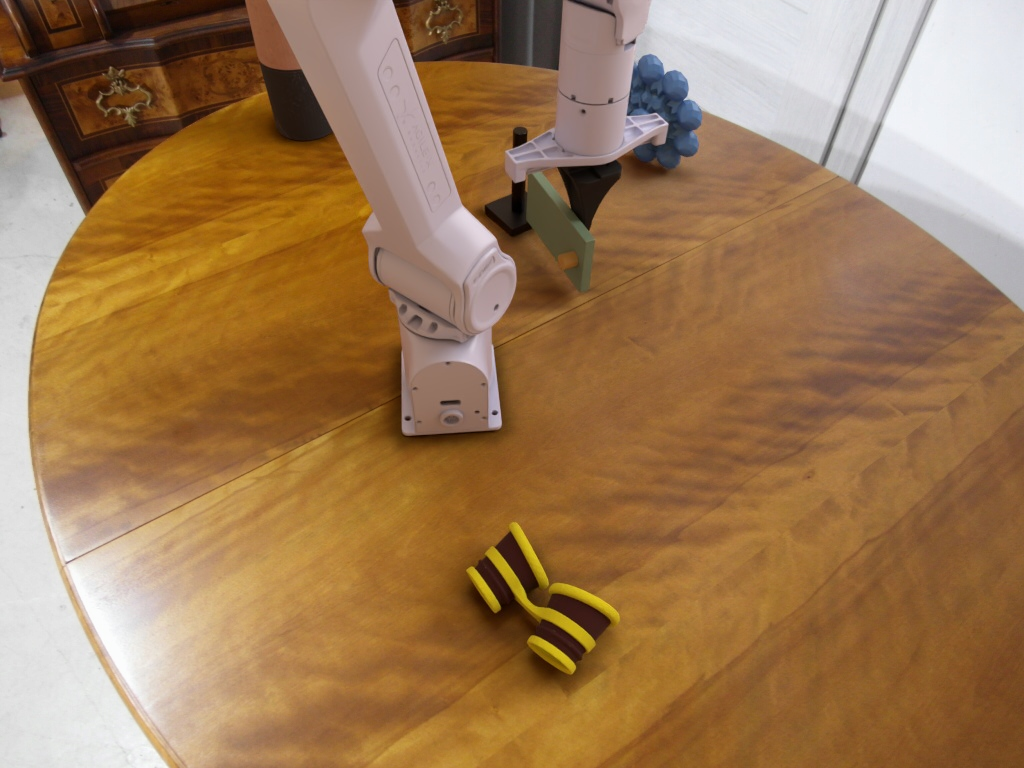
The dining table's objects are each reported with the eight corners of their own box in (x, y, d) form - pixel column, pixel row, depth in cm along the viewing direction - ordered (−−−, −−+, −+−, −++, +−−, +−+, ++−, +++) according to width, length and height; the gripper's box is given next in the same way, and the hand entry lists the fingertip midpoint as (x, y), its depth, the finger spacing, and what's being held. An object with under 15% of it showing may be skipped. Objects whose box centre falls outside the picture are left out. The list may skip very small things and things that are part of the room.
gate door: (513, 222, 78) (514, 171, 74) (534, 217, 79) (537, 166, 74) (566, 297, 71) (571, 245, 67) (589, 290, 72) (595, 239, 67)
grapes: (581, 160, 88) (591, 58, 79) (612, 135, 92) (625, 34, 83) (672, 197, 84) (694, 93, 75) (701, 169, 87) (724, 66, 78)
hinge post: (484, 212, 81) (483, 126, 74) (522, 196, 83) (525, 110, 76) (512, 237, 79) (514, 150, 71) (551, 220, 81) (557, 134, 73)
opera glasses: (466, 589, 54) (453, 565, 50) (518, 536, 56) (510, 508, 52) (568, 689, 50) (563, 672, 46) (622, 628, 51) (621, 606, 47)
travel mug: (319, 101, 95) (286, -79, 80) (352, 127, 92) (324, -56, 77) (263, 121, 92) (218, -62, 77) (294, 149, 88) (254, -38, 73)
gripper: (645, 47, 65) (625, 184, 76) (488, 82, 61) (490, 221, 71) (692, 85, 61) (664, 224, 72) (528, 125, 57) (523, 267, 67)
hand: (579, 226), depth 71 cm, fingers closed
